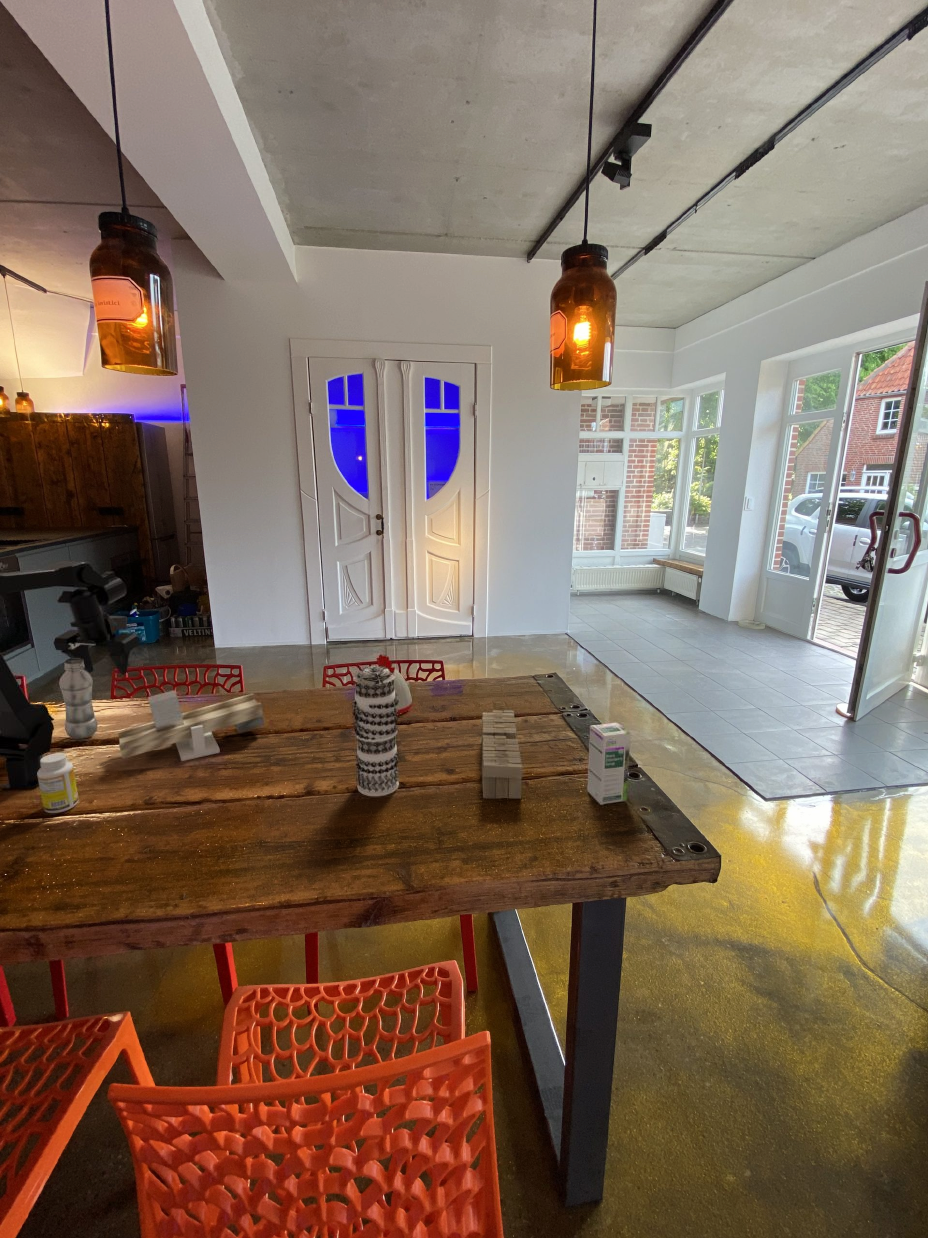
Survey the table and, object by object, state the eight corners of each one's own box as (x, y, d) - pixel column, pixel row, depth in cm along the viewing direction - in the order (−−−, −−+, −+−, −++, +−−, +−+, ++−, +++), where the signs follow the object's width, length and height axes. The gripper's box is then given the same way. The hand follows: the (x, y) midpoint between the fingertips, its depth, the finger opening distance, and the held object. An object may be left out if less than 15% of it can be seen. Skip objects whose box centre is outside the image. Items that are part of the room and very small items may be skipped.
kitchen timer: (394, 695, 168) (393, 646, 164) (421, 708, 157) (420, 657, 154) (352, 706, 159) (350, 655, 156) (378, 721, 149) (376, 666, 145)
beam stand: (181, 761, 126) (178, 733, 125) (173, 738, 138) (170, 713, 136) (219, 752, 131) (217, 725, 129) (209, 731, 142) (206, 706, 141)
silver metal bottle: (87, 744, 136) (79, 668, 129) (59, 740, 135) (49, 664, 129) (104, 730, 142) (97, 657, 135) (77, 726, 141) (68, 653, 135)
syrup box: (600, 806, 109) (604, 736, 106) (586, 790, 115) (589, 723, 112) (626, 801, 111) (631, 732, 108) (611, 786, 116) (615, 720, 113)
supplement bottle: (67, 796, 112) (59, 748, 110) (85, 802, 110) (77, 754, 107) (37, 810, 107) (28, 761, 105) (55, 817, 105) (46, 767, 102)
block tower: (481, 742, 139) (481, 803, 110) (482, 709, 137) (481, 762, 109) (514, 743, 139) (521, 803, 110) (514, 710, 137) (522, 763, 109)
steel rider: (158, 735, 127) (149, 703, 125) (156, 729, 131) (147, 697, 129) (185, 727, 130) (177, 695, 128) (182, 721, 134) (174, 690, 131)
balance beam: (126, 771, 123) (119, 745, 122) (124, 756, 130) (117, 731, 128) (265, 726, 138) (260, 703, 137) (257, 715, 145) (252, 693, 143)
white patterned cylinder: (407, 777, 120) (405, 664, 114) (390, 800, 111) (386, 679, 105) (367, 772, 122) (363, 661, 116) (347, 793, 113) (342, 674, 108)
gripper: (147, 602, 136) (164, 659, 142) (80, 598, 139) (99, 654, 145) (113, 621, 126) (132, 682, 132) (41, 617, 129) (64, 677, 136)
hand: (107, 673), depth 137 cm, fingers open, 9 cm apart
